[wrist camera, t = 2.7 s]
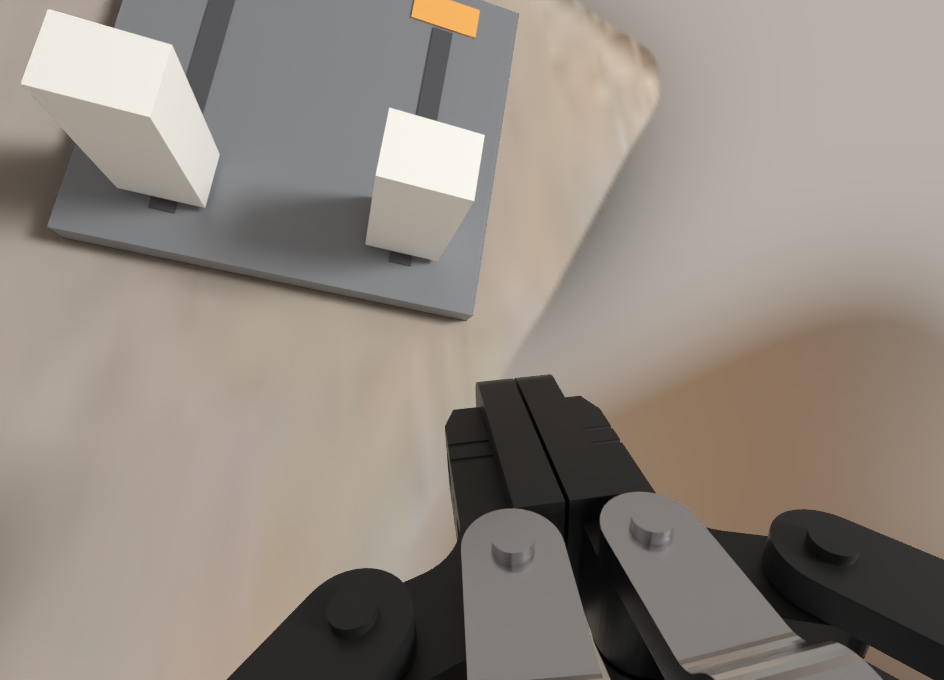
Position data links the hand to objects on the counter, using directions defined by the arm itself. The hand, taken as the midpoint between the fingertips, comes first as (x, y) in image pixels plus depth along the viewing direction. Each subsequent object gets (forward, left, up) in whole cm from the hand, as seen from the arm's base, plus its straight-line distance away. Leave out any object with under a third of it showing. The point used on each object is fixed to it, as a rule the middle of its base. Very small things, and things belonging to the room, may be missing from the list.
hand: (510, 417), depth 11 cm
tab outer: (-2, +10, -17) cm, 20 cm away
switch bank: (-8, +16, -19) cm, 26 cm away
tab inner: (-14, +10, -17) cm, 24 cm away
